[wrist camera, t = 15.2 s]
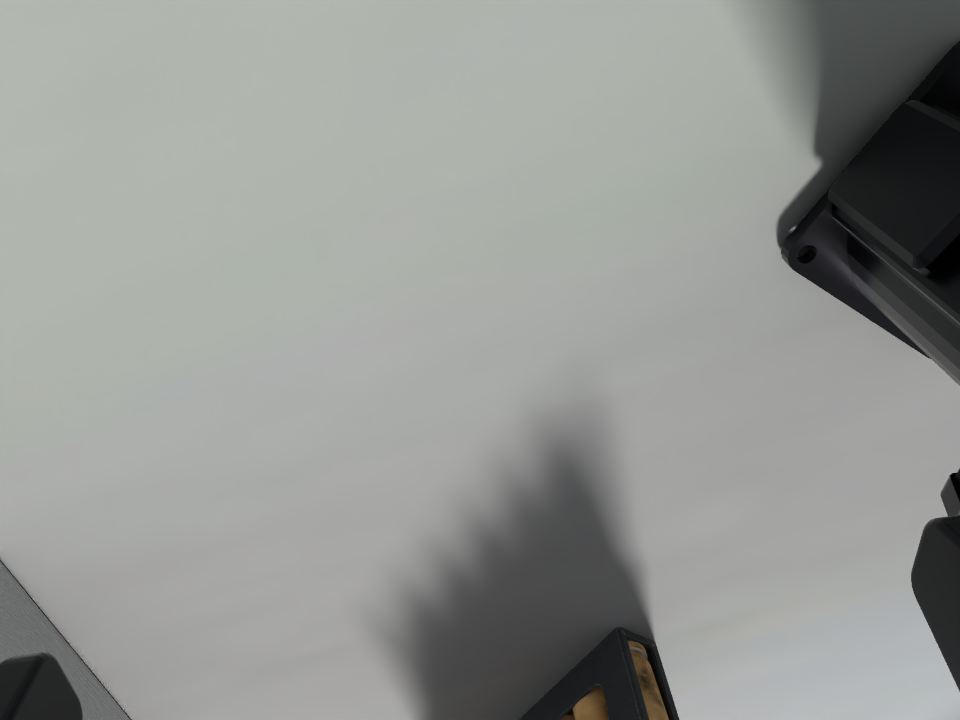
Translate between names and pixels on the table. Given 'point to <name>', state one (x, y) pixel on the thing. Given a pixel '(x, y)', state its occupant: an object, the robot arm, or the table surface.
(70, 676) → the metal housing
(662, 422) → the table surface
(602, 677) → the ammunition clip
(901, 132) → the robot arm
